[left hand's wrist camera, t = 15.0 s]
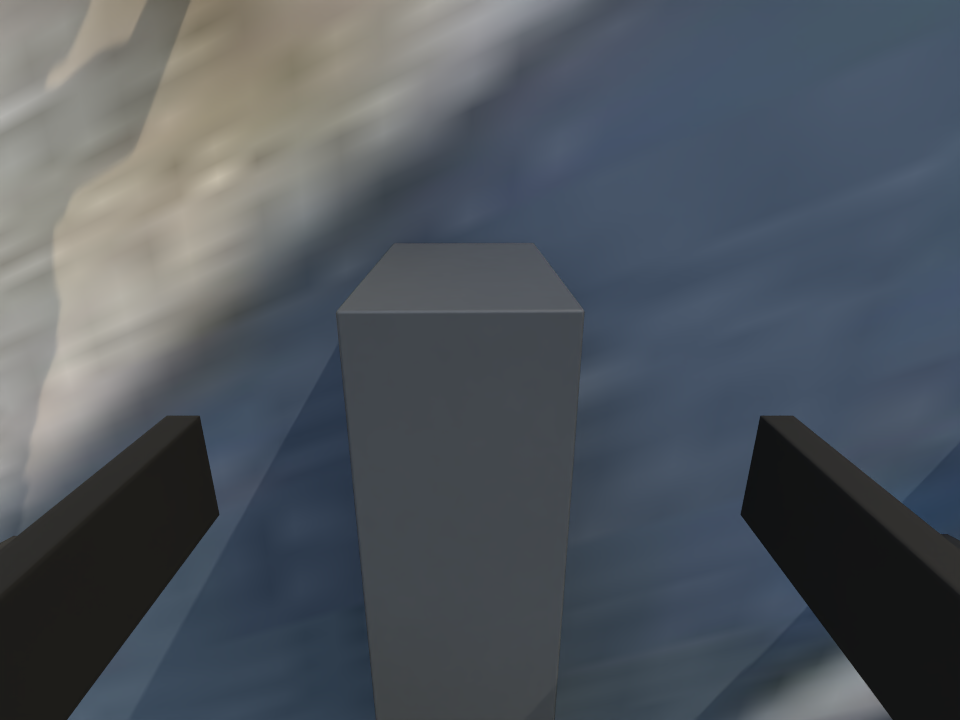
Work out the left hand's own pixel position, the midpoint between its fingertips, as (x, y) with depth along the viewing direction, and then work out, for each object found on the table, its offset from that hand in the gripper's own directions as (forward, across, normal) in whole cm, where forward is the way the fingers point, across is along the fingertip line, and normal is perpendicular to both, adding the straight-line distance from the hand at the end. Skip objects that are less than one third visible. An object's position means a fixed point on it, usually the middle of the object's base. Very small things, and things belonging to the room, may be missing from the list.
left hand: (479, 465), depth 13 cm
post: (+7, -1, -27) cm, 28 cm away
